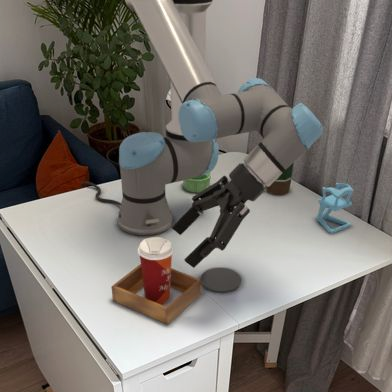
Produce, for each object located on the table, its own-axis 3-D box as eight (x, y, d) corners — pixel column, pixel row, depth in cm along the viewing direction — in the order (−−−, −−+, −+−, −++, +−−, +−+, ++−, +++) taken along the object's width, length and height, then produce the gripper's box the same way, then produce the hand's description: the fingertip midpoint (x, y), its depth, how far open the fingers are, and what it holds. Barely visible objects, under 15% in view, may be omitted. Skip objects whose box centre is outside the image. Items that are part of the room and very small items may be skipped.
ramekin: (204, 195, 157) (205, 182, 154) (177, 190, 159) (177, 177, 156) (214, 184, 163) (215, 170, 160) (188, 179, 166) (188, 165, 163)
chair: (329, 214, 150) (337, 175, 142) (350, 226, 145) (360, 186, 137) (310, 221, 147) (317, 181, 139) (330, 234, 142) (340, 193, 134)
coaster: (192, 283, 123) (192, 282, 123) (213, 264, 130) (213, 263, 129) (228, 297, 120) (228, 296, 119) (248, 277, 126) (248, 275, 125)
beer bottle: (272, 197, 157) (283, 116, 141) (260, 186, 163) (269, 107, 146) (294, 193, 160) (307, 112, 143) (281, 182, 165) (292, 104, 149)
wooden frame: (112, 300, 118) (111, 286, 115) (147, 272, 126) (146, 258, 124) (168, 324, 112) (168, 310, 109) (201, 293, 120) (201, 279, 118)
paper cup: (173, 307, 116) (172, 255, 107) (139, 307, 116) (135, 254, 107) (174, 287, 122) (174, 235, 113) (142, 286, 122) (139, 234, 112)
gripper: (286, 215, 97) (207, 288, 105) (247, 162, 115) (182, 228, 123) (263, 191, 93) (182, 269, 100) (226, 139, 110) (159, 209, 118)
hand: (182, 247), depth 111 cm, fingers open, 13 cm apart
